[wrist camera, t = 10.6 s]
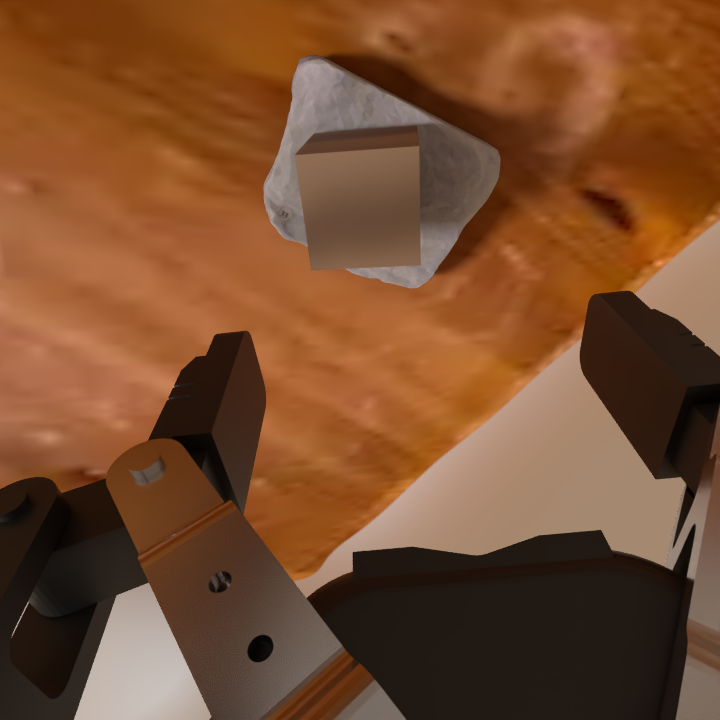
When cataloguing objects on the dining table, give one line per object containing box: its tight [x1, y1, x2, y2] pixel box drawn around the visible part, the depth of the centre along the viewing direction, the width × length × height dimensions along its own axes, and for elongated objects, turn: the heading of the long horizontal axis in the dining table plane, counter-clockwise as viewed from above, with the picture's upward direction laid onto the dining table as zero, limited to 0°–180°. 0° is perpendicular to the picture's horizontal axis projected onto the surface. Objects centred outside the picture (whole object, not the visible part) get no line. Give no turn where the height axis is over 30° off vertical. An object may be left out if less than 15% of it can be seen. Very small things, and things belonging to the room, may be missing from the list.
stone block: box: [264, 55, 501, 288], centre depth 28 cm, size 12×5×10 cm
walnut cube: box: [295, 125, 421, 270], centre depth 23 cm, size 5×5×5 cm
